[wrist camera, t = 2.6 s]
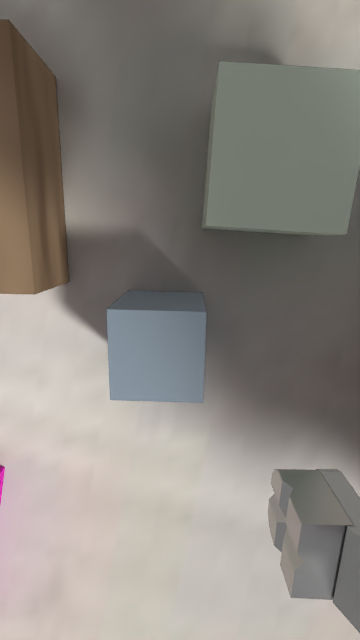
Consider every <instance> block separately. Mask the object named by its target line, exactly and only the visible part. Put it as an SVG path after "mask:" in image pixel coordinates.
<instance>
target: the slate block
mask: <svg viewBox="0 0 360 640" xmlns="http://www.w3.org/2000/svg"><path fill="white" fill-rule="evenodd" d="M206 318H207V311H206V307H205V303H204V299H203V295H202V292H175V291H133V290H128V291H127V292H126V293H125V294H124V295H122V296H121V297H120V298H119V299H118V300H117V301H116V302H114V303H113V304H112V305H111V306H110V307H109V308H108V309H107V334H108V360H109V386H110V400H127V401H159V402H192V403H203V389H204V365H205V342H206Z"/></svg>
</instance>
